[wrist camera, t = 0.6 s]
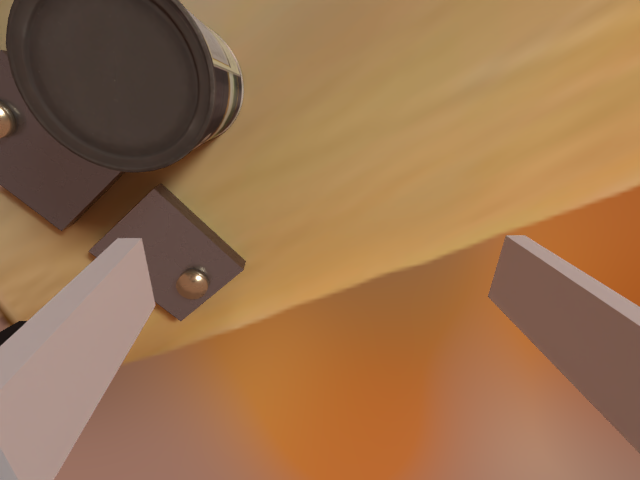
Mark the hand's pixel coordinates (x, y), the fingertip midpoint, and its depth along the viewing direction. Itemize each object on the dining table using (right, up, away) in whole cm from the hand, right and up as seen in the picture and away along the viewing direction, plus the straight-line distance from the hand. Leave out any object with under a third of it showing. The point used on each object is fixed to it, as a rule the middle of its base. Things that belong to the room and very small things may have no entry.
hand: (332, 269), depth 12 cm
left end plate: (-26, +10, +19) cm, 34 cm away
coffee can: (-13, +16, +18) cm, 27 cm away
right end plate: (-17, 0, +25) cm, 30 cm away
